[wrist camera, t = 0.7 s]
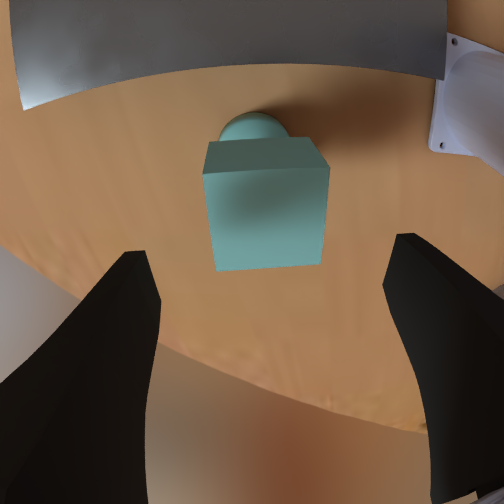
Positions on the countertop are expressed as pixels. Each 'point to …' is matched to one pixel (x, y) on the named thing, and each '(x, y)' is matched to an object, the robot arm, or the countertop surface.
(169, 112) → the countertop surface
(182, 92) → the countertop surface
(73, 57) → the keyhole bracket
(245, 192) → the peg
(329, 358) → the countertop surface
